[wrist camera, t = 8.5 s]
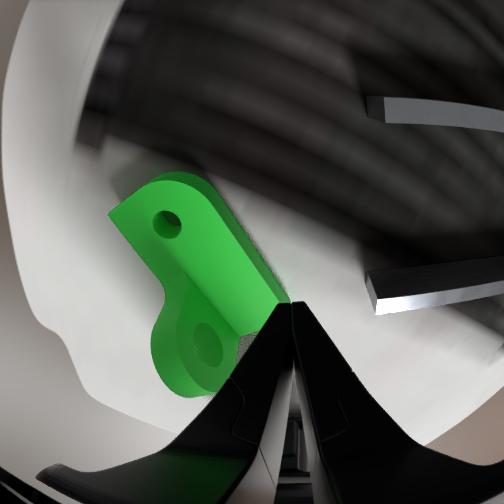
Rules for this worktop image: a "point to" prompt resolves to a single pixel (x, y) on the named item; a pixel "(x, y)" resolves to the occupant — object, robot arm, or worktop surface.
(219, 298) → the mechanical part
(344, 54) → the worktop surface
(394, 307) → the seating bracket
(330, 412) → the robot arm
